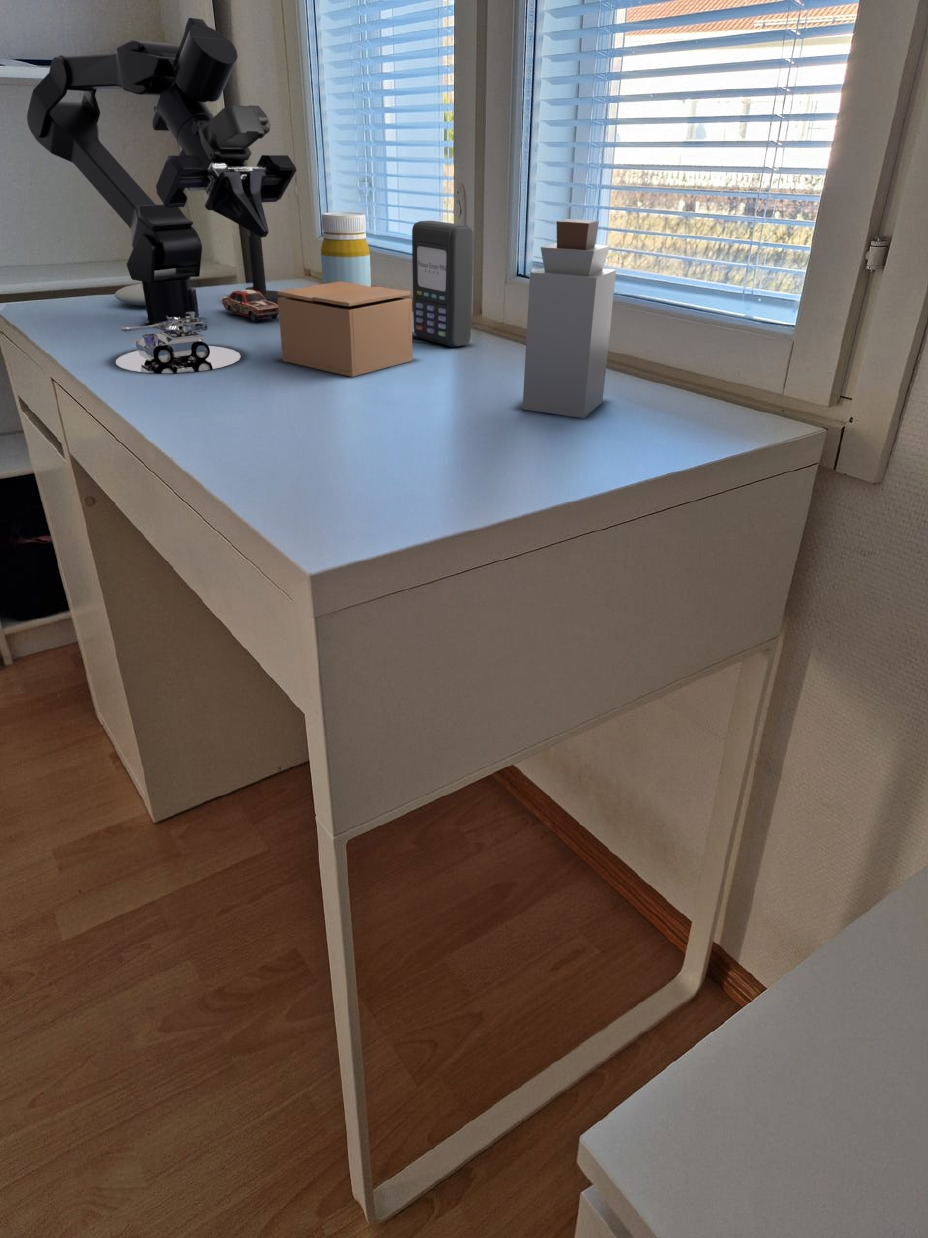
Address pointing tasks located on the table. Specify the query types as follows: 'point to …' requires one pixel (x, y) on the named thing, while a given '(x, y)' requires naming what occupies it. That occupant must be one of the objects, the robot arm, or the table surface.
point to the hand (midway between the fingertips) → (265, 234)
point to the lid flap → (320, 290)
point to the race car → (250, 305)
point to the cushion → (131, 295)
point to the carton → (348, 330)
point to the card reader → (442, 282)
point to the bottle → (345, 249)
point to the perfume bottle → (569, 323)
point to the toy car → (175, 349)
